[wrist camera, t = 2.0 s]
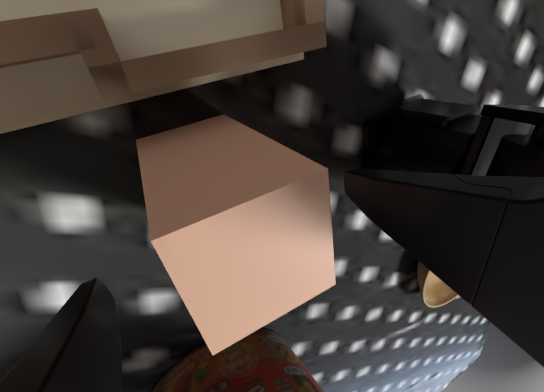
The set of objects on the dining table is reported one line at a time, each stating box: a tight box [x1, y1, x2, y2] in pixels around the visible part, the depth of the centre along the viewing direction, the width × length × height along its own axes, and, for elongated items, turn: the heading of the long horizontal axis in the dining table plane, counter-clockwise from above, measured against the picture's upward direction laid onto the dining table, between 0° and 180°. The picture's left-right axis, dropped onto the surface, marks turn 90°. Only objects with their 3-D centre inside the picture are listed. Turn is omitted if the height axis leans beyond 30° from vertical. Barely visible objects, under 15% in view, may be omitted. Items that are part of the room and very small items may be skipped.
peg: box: [136, 114, 336, 355], centre depth 11 cm, size 4×4×9 cm
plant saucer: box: [417, 262, 459, 307], centre depth 33 cm, size 15×15×3 cm
